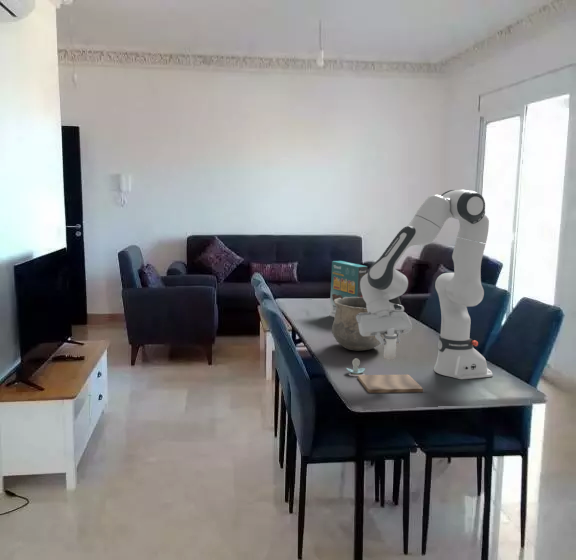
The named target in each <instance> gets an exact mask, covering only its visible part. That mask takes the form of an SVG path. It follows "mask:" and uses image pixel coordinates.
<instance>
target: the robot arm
mask: <svg viewBox="0 0 576 560" xmlns="http://www.w3.org/2000/svg"><path fill="white" fill-rule="evenodd" d="M450 218H451V219H455V220H458V221H459V222H458V223H459V229H458V232H457V235H456V240H455V244H454V247H453V252H452V254H451V258H452V261H453V269H454V271H453V272H445V273H442V274H440V275H439V276H438V277H437V278H436V280H435V283H434V284H435V286H434V287H435V290H436V292H437V296H438V300H439V305H440V314H441V319H440V320H441V322H440V323H441V324H440V335H439V336H438V342H437V344H438V345H437V346H438V347H437V348H438V353H437V358H436V362H435V364H434V368H433V371H434V372H435V373H437V374H439V375H442V376H446V377H451V378H454V379H458V380H468V379H470V380H471V379H481V378H490V377H493V372H492V370H490V369H489V368H488V364H487V360H486V358H485V357H484V355H483V354H481V353H480V352H479V351H478V350H477V349H475V348H474V347H478V346H479V342H478V341H477V340H475V339H474V340H473V339H472V338H470V335H471V334H470V333H471V321H472V320H471V316H470V314H469V312H468V307H476V306H478V305H479V304H480V303H481V302H482V301H483V299H484V296H485V290H484V287H483V285H482V278H481V277H482V275H481V271H482V270H481V269H482V267H481V266H482V262H483V261H482V260H483V255H484V253H485V248H486V244H487V240H488V234H489V227H490V220H489V218H488V216H487V214H486V202H485V199H484V196H483V195H481V194H480V193H479V192H477V191H474V190H468V189H467V190H466V189H456V190H455V189H450V190H447V191H445V192H443V193H442V194H441V195H439V194H431V195H430V196H428V197H427V198H426V199H425V200H424V201H423V203H422V204H421V205H420V207H419V208H418V210H417V211H416V212H415V215H414V216H413V217H412V219H411V221H410V222H409V223H408V224H407V226H405V227H403V228H401V229H400V230H399V231H398V233H397V234H396V235H395V237H393V240H392V241H391V242H390V243H389V245H388V246H387V248H386V249H385V250H384V252H383V253H382V254H381V256H380V257H379V258H378V259H377V260H376V261H375V262H373V264H372V265H371V266H370V267H369V269H368V270H367V274H365V275H364V276H363V277H362V278H361V281H360V287H361V292H362V296H363V299H364V301H365V302H366V308H367V311H368V312H366V313H359V314H357V315H356V320H357V322H358V326H359V332H360V334H361V335H362V336H375V338H376V339H377V340H378V341H380V344H379V345H380V346H384V345H385V344H386V341H385V339H383V338H382V337H381V336H380V335H384V334H385V333H387V328H394V334H397V340H396V345H400V344H401V341H402V340H401V338H400V337H401V335H402V334H409V333H410V331H412V328H413V324H412V321H411V319H410V317H409V315H408V313H406V312H405V307H404V305H402V304H401V305H398V304H394V303H391V302H389V300H391V299H394V298H397V297H399V298H400V297H401V296H403V295H404V294H405V293H406V292H407V290H408V287H409V279H408V277H407V276H406V275H405V274H404V273H402V271H399V270H397V269H396V268H395V267H396V265H397V264H398V262H399V261H400V260H401V258H402V256H403V255H404V254H405V252H406V251H407V250H408V249H409V248H411V247H414V246H426V245H429V244H432V243H433V242H434V241H435V240H436V238H437V237H438V235H439V234H440V232H441V230H442V228H443V226H444V224H445V222H446V221H448V219H450Z"/></svg>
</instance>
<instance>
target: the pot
mask: <svg viewBox="0 0 576 560" xmlns="http://www.w3.org/2000/svg"><path fill="white" fill-rule="evenodd" d="M334 304H335V305H336V312H335V317H333V322H332V327H331V333H332V336H333V337H334V339H335V340H336V342H337V343H338V344H339V345H341V346H342V347H343V348H345V349H346V350H350V351H355V352H364V351H369V350H372V349H375V348H376V347H378V346H379V345H381V344H380V341H378V340H377V339H376V338H375V336H362V335H361V334H360V332H359V326H358V322H357V320H356V315H357V314H359V313H366V312H368V311H367V308H366V302H365V301H364V299H363V297H344V298H342V299H341V298H337V299H335V300H334ZM380 336H381V337H382V338H383V339H384V335H380Z"/></svg>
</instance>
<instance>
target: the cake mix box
mask: <svg viewBox="0 0 576 560" xmlns="http://www.w3.org/2000/svg"><path fill="white" fill-rule="evenodd" d="M368 270H369V269H368V266H367V265H362V264H359V263H353V262H348V261H345V260H333V261H332V260H331V276H330V277H331V279H330V280H331V282H330V299H329V300H330V301H329V317H332V318H334V317H335V312H336V305H335V304H334V300H335V299H337V298H341V299H342V298H344V297H363V296H362V292H361V287H360V281H361V278H362V277H363V276H364V275H365V274H367V273H368Z"/></svg>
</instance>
